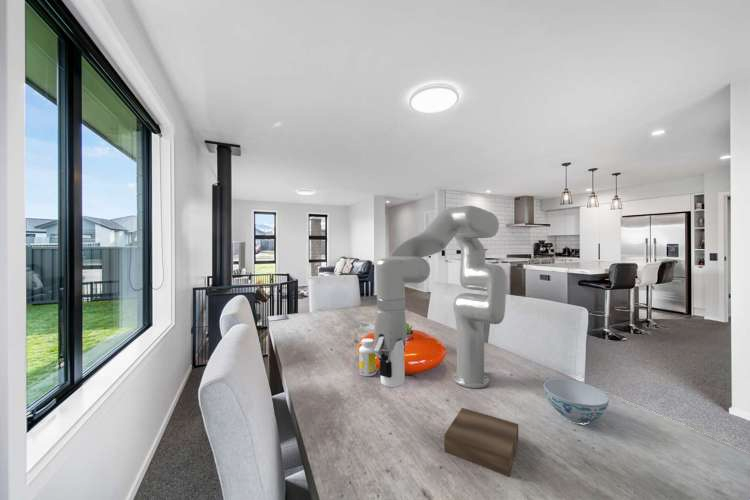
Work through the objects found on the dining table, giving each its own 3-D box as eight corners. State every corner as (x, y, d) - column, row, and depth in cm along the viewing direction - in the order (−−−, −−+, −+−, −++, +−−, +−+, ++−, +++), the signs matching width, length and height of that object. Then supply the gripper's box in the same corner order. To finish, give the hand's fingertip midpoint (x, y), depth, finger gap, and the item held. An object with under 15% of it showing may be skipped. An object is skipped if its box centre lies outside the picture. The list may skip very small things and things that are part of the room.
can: (403, 389, 74) (402, 342, 73) (378, 387, 75) (377, 341, 75) (406, 377, 80) (404, 334, 80) (383, 376, 81) (381, 333, 81)
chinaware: (596, 408, 86) (595, 382, 86) (620, 440, 71) (619, 409, 71) (539, 400, 91) (538, 376, 91) (551, 428, 76) (550, 399, 76)
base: (462, 422, 79) (462, 407, 79) (518, 440, 72) (518, 424, 72) (444, 451, 68) (444, 434, 68) (509, 477, 60) (509, 457, 60)
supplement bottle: (378, 370, 114) (377, 338, 114) (374, 377, 108) (374, 343, 108) (361, 369, 115) (361, 337, 115) (357, 376, 109) (357, 342, 109)
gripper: (394, 298, 86) (396, 357, 87) (360, 309, 72) (362, 381, 72) (417, 300, 82) (419, 362, 82) (386, 312, 68) (388, 388, 68)
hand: (392, 370), depth 77 cm, fingers closed on can, 6 cm apart
